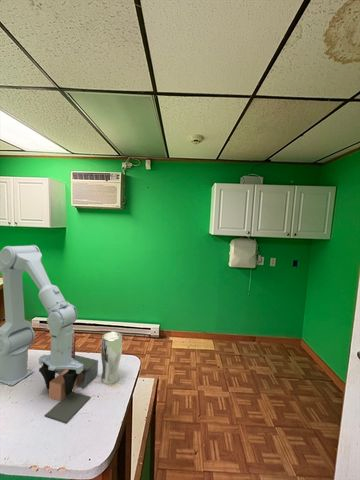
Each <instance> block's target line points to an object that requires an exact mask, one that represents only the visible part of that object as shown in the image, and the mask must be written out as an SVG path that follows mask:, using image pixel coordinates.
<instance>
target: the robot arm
mask: <svg viewBox="0 0 360 480" xmlns="http://www.w3.org/2000/svg"><path fill="white" fill-rule="evenodd" d="M42 259H43V254H42V252H41V250H40V248H39V247H38V246H37V245H36V244H30V245H13V246H12V245H7V246H4V247H3V248H2V249H1V250H0V272H1V274H2V284H3V286H2V287H3V302H4V317H5V318H4V321H5V322H4V323H3V324H2V326H1V327H0V383H2V384H5V385H8V386H14V385H16V384H17V383H19V382H21V381H22V380H23V379H25V378H27V377H29V376H30V375H32V374H33V373H34V370H35V369H34V370H33V369H29V368H28V367H29V366H28V365H29V364H28V361H29V357H28V356H29V348H31V344H32V343H34V341H35V337H36V335H35V331H34V329H33V322H31V321H29V320H27V319H26V318H25V303H24V301H25V300H24V289H23V288H24V287H23V273H24V272H27V274H28V275H29V277H30V278H31V280H32V281H33V282H34V284H35V285H36V287H37V288H38V290H39V292H38V295H37V297H38V298H39V301H40V302H41V304H42V306H43V307H44V310H45V311H46V313H47V314H48V316H47V318H46V323H47V325H48V327H49V330H48V331H49V335H50V354H43V355H41V356H40V357H38V364H39V365H42V366H41V367H39V369H38V371H39V373H40V374H41V375H42V377H43V380H44V383H45V387H46V390H49V386H50V381H52V380H53V379H54V378H56V372H57V371H56V369H68V372H66V373H65V374H64V375H63V378H64V381H65V393H66V395H69V394H70V393H71V392H73V391H74V389H73V387H74V384H75V381H76V379H77V376H78V375H79V373H81V372H82V371H83V364H81V363H79V362H78V361H76V360H74V359H73V358H71V353H72V330H74V329H73V326H74V324H73V323H75V322H76V321H77V320H78V316H79V315H78V311H77V307H76V306H75V305H73V304H71V303H70V302H69V301H67V300H66V299H65V297H64V295H63V294H62V292H61V290H60V288H59V287H58V286H57V285H54V284H52V282H51V280H50V278H49V276H48V274H47V272H46V269H45V267H44V265H43V263H42Z"/></svg>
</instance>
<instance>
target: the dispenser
mask: <svg viewBox="0 0 360 480" xmlns="http://www.w3.org/2000/svg"><path fill="white" fill-rule="evenodd" d="M71 358H73V359H74V360H76V361H78V362H79V363H81V364H83V371H82V372H81V373H79V375H78V385H77V387H78V388H81V389H85V388H86V387H87V386H88V385H90V384H91V383H92V381H93V380H94V379H95V378H96V377H98V372H99V369H98V368H99V360H98V359H93V358H89V357H85V356H82V355H76V354H75V355H73V356H71ZM64 370H66V369H59V372H58V375H59V374H61V373H62V372H63V371H64Z"/></svg>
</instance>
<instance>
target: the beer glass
mask: <svg viewBox="0 0 360 480" xmlns="http://www.w3.org/2000/svg"><path fill="white" fill-rule="evenodd" d="M122 352H123V334H122V333H121V332H119V331H109V332H106V333H104V334H103V335H102V336H101V344H100V358H101V365H102V373H101V376H100V382H101V383H102V384H103V385H113V384H115V383H118V381H119V380H120V372H119V371H120V370H119V368H120V362H121V357H122V354H123V353H122Z"/></svg>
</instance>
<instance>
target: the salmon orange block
mask: <svg viewBox="0 0 360 480" xmlns="http://www.w3.org/2000/svg"><path fill="white" fill-rule="evenodd" d="M66 372H68V369H66V370H64V371H63V372H62V373H61V374H59V373H58V375H56V376H55V378H54V379H53V380H52V381H50V386H49V391H48V392H49V393H48V398H49V399H51V400H56V401H59V402H60V401H61V400H62V399H63V398H64V397H65V396H66V393H65V381H64V378H63V375H64V374H65V373H66ZM76 387H78V376H77V379H76V381H75V384H74V387H73V390H74V389H75V388H76Z"/></svg>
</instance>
